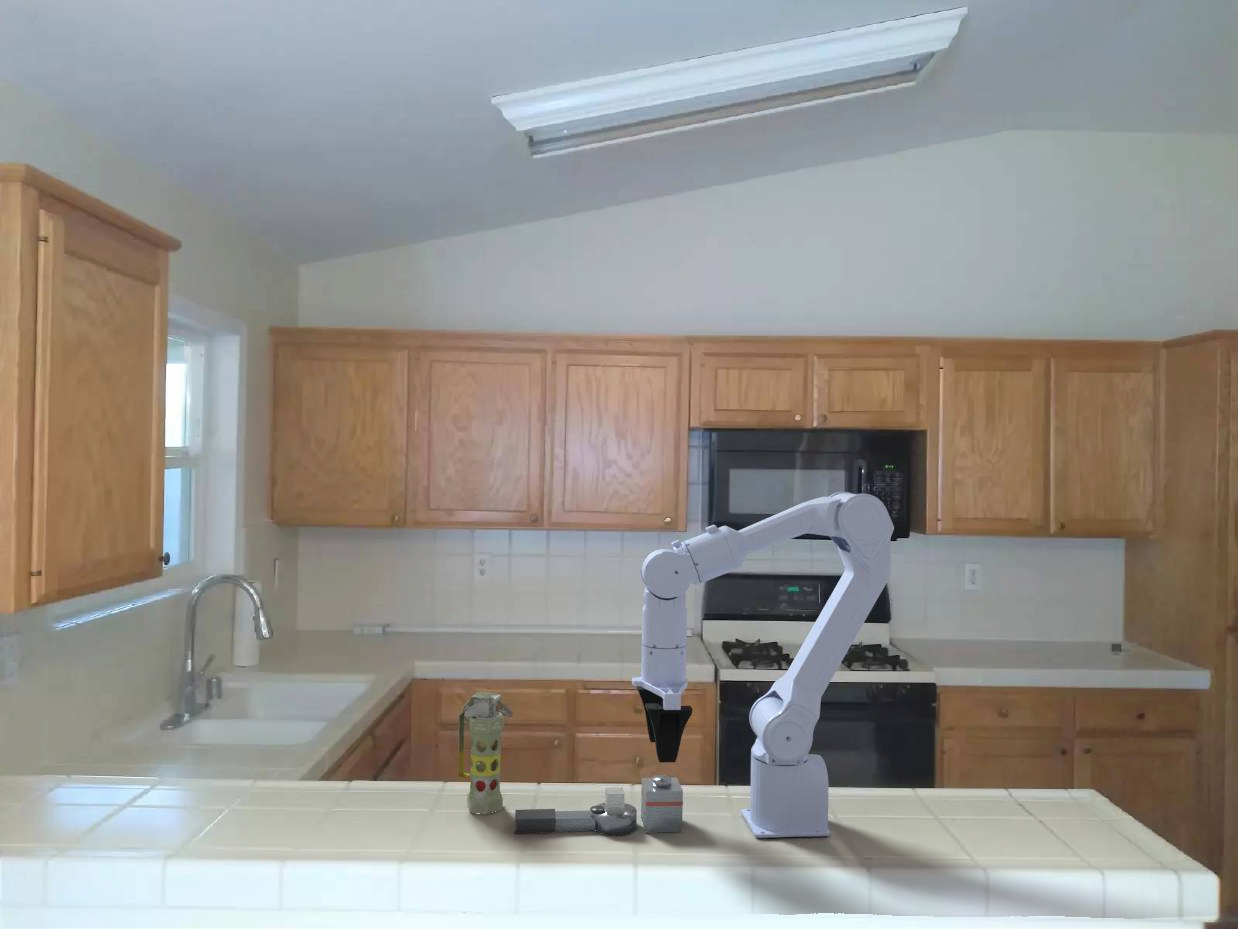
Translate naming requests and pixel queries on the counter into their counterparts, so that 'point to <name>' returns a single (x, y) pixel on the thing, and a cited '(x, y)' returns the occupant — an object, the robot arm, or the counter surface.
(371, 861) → the counter surface
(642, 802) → the striped cube with knob
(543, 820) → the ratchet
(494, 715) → the grenade
